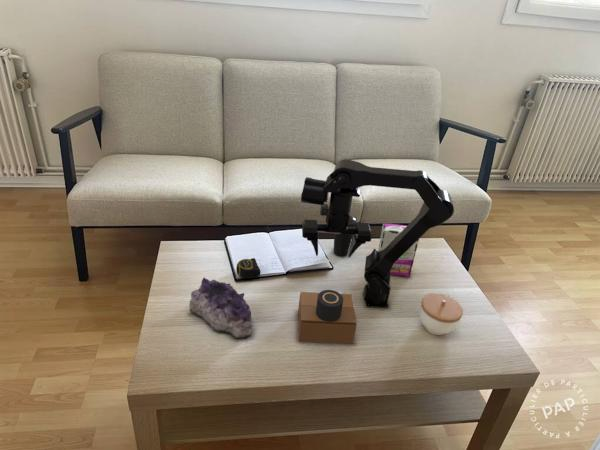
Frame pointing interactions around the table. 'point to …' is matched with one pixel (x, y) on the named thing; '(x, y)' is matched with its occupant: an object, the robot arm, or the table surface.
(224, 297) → the geode
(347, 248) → the drinking cup
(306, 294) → the flap
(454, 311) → the trinket box
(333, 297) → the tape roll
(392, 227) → the candy bar box
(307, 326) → the carton
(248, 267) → the tape measure
